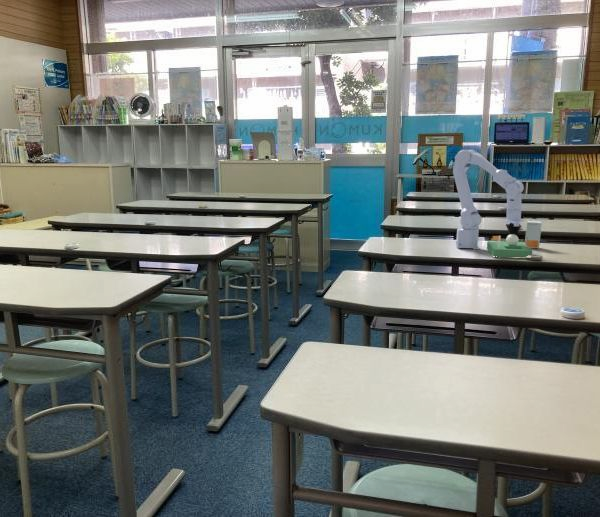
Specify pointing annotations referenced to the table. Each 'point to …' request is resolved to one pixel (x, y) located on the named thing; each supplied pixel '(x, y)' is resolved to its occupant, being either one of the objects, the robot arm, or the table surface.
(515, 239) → the ball
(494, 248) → the green
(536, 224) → the skincare box
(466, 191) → the robot arm
